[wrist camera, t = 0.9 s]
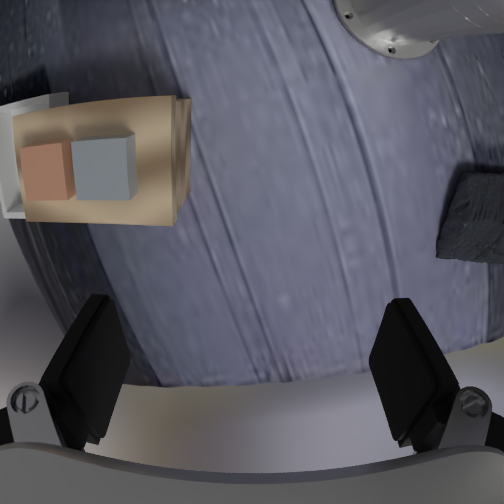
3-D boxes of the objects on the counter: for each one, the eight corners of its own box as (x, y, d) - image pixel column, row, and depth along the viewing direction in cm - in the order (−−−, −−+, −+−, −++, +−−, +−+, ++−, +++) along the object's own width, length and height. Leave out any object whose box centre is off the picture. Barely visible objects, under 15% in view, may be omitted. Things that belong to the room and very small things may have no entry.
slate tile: (82, 137, 22) (70, 141, 21) (135, 133, 23) (125, 137, 21) (87, 192, 25) (77, 200, 23) (137, 192, 25) (129, 200, 23)
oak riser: (55, 106, 28) (12, 116, 21) (191, 93, 28) (171, 95, 21) (63, 194, 33) (26, 221, 26) (190, 195, 34) (173, 226, 27)
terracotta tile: (31, 143, 22) (19, 148, 21) (73, 138, 22) (61, 142, 21) (38, 193, 25) (26, 201, 23) (78, 192, 25) (67, 200, 23)
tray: (9, 104, 27) (-11, 109, 23) (68, 91, 27) (49, 94, 24) (21, 206, 34) (4, 218, 30) (77, 205, 34) (61, 218, 30)
